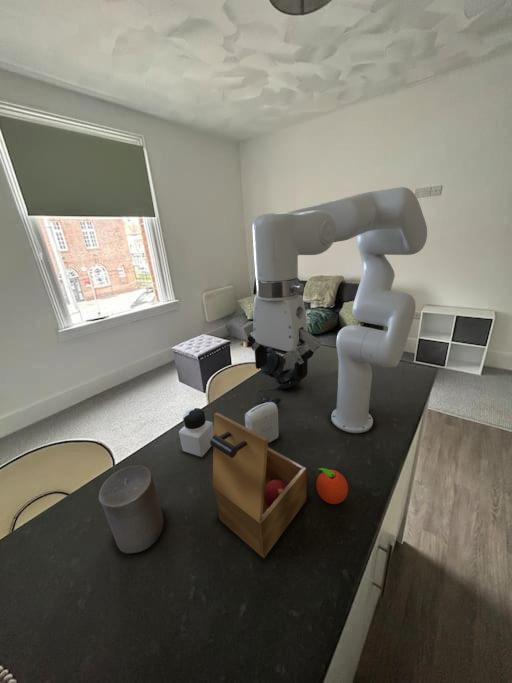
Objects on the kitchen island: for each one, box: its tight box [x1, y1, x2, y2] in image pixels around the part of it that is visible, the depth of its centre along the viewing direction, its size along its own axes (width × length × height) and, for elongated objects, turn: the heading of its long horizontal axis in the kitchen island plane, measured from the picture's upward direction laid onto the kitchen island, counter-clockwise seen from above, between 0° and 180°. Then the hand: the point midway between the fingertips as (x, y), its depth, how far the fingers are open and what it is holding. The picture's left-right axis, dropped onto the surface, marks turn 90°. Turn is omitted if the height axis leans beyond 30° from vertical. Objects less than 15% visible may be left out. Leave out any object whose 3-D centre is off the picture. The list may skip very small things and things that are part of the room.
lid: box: [210, 412, 269, 523], centre depth 50 cm, size 16×13×5 cm
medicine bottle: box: [178, 407, 214, 458], centre depth 80 cm, size 7×7×12 cm
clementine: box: [315, 467, 349, 505], centre depth 63 cm, size 8×7×7 cm
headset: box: [256, 347, 302, 407], centre depth 105 cm, size 18×14×29 cm
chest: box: [213, 446, 307, 559], centre depth 61 cm, size 16×13×10 cm
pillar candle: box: [98, 464, 165, 554], centre depth 57 cm, size 10×10×15 cm
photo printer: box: [244, 402, 280, 444], centre depth 80 cm, size 10×4×12 cm, turn 123°
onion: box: [264, 480, 287, 507], centre depth 60 cm, size 6×6×8 cm
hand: (280, 372), depth 56 cm, fingers open, 9 cm apart
